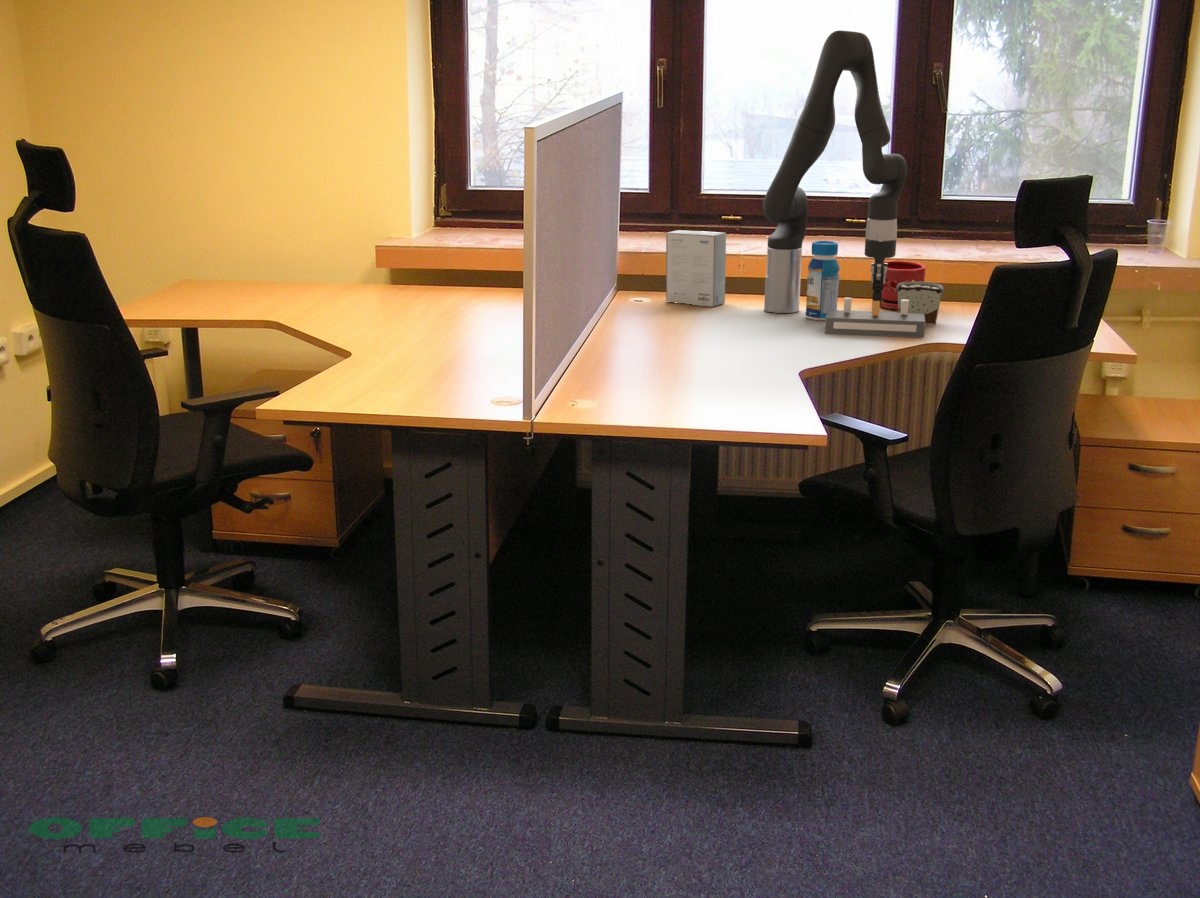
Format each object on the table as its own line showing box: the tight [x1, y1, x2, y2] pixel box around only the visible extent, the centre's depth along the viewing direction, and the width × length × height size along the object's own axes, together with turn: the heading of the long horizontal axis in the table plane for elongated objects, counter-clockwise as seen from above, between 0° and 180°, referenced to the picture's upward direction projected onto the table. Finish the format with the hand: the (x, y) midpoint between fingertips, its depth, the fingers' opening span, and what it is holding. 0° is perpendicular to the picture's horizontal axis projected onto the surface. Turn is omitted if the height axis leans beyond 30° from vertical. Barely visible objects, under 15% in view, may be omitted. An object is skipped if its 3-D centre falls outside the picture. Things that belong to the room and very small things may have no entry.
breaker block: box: [824, 309, 926, 338], centre depth 294 cm, size 24×10×4 cm, turn 77°
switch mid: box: [871, 301, 881, 316], centre depth 292 cm, size 2×1×4 cm
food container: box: [895, 280, 945, 326], centre depth 304 cm, size 12×6×10 cm, turn 71°
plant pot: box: [880, 260, 926, 311], centre depth 322 cm, size 13×13×12 cm
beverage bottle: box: [805, 240, 840, 322], centre depth 307 cm, size 8×8×20 cm
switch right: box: [900, 300, 909, 315], centre depth 293 cm, size 2×1×4 cm
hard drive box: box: [665, 229, 727, 308], centre depth 328 cm, size 16×8×20 cm, turn 58°
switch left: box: [843, 297, 853, 312], centre depth 296 cm, size 2×1×4 cm
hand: (876, 306), depth 294 cm, fingers closed
